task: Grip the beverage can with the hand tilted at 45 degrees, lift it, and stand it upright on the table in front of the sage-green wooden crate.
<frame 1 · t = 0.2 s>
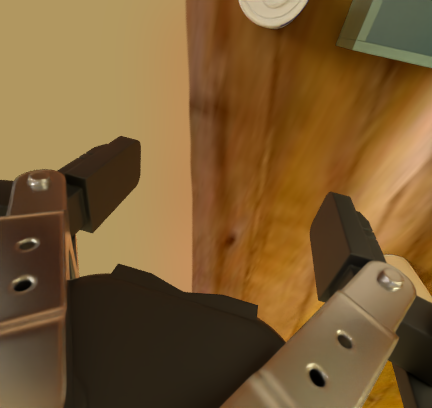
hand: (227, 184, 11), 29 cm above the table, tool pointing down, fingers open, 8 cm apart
coffee cup: (385, 269, 48), on the table
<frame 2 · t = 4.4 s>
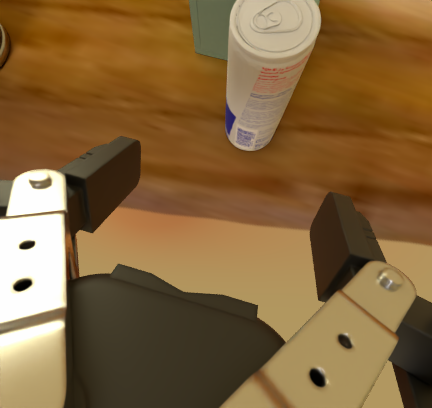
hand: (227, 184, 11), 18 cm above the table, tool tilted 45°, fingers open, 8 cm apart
beverage can: (249, 130, 31), on the table
crate: (254, 23, 33), on the table
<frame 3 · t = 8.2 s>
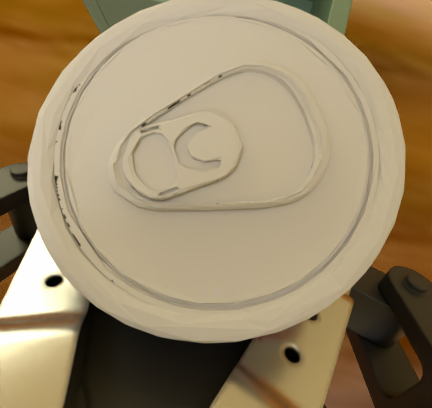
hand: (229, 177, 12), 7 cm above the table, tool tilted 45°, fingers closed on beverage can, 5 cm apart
beverage can: (219, 229, 19), on the table, touching gripper
crate: (231, 50, 21), on the table
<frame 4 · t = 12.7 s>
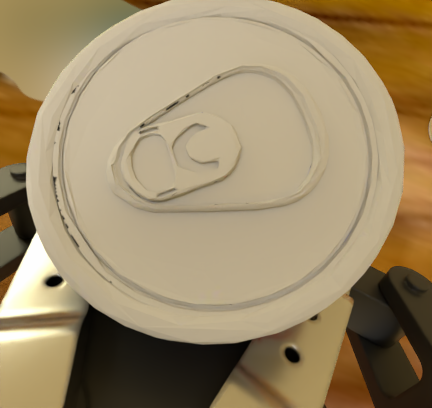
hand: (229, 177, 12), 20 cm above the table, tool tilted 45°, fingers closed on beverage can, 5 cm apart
beverage can: (220, 230, 19), point 13 cm above the table, touching gripper
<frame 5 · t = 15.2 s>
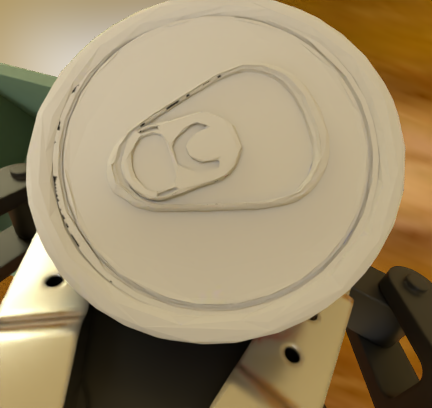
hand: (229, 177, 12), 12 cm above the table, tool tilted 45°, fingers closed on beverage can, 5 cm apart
beverage can: (220, 229, 19), point 5 cm above the table, touching gripper
crate: (76, 190, 24), on the table
when the fingers open (7 cm above the table, at t = 17.1 s): beverage can stays where it is, on the table.
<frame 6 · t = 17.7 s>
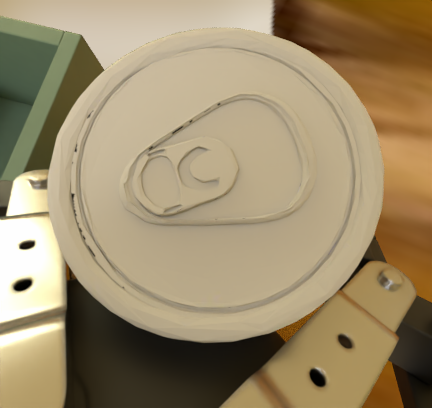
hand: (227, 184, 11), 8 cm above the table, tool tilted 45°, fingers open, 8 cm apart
beverage can: (220, 232, 19), on the table
crate: (42, 180, 20), on the table
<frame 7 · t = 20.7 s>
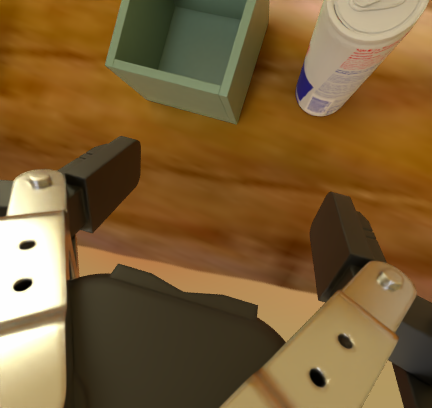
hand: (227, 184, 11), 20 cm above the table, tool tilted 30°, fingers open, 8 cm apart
beverage can: (320, 92, 30), on the table
crate: (204, 63, 32), on the table
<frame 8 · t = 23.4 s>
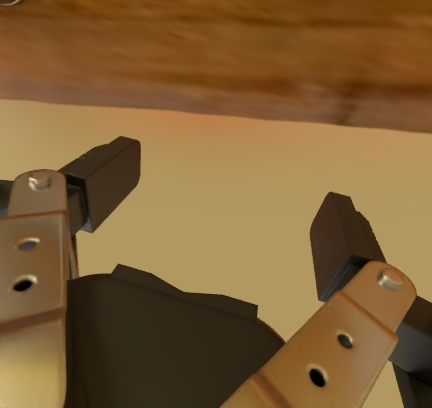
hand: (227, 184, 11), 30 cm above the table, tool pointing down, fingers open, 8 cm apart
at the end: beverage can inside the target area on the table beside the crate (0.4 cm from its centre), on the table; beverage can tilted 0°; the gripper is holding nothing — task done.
